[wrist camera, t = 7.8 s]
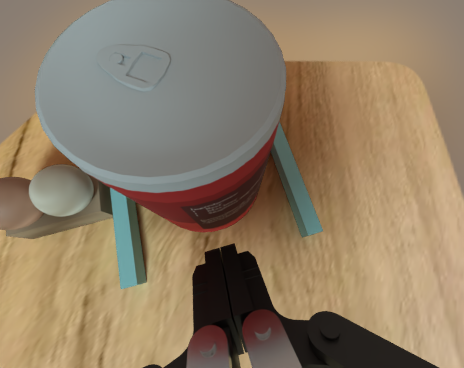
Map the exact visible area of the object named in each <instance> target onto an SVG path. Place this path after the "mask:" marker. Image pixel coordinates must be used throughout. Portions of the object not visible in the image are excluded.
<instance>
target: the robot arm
mask: <svg viewBox="0 0 464 368" xmlns="http://www.w3.org/2000/svg"><path fill="white" fill-rule="evenodd" d="M220 249H221V251H220ZM205 262H206V263H205V264H202V265H198V266H196V268H195V271H194V273H193V276H192V280H193V323H194V331H193V336H192V338H191V340H190V342H189V345H188V347H187V349H186V350H185V351H184V352H183V353H182V354H181V355H180V356H179V357H178V358H176V359H175V360H174V361H172V362H171V363H169V364H168V365H167V366H165V367H164V368H241V367H240V362H239V356H238V355H241V354H244V351H243V347H244V349H245V352H248V355H249V358H250V361H251V365H252V368H439V367H437V366H435V365H433V364H431V363H429V362H427V361H425V360H423V359H421V358H420V357H418V356H416V355H414V354H412V353H410V352H408V351H406V350H404V349H402V348H401V347H399V346H397V345H395V344H393V343H391V342H389V341H387V340H385V339H383V338H382V337H380V336H378V335H376V334H374V333H372V332H370V331H368V330H366V329H364V328H363V327H361V326H359V325H357V324H355V323H353V322H351V321H349V320H347V319H345V318H344V317H342V316H340V315H338V314H336V313H333V312H328V311H322V312H318V313H316V314H314V315H313V316H312V317H311V318H310V320H292V319H288V318H286V317H284V316H282V315H280V314H279V313H278V312H277V311H276V310H275V308H274V307H273V304H272V302H271V299H270V296H269V294H268V291H267V288H266V286H265V283H264V280H263V278H262V275H261V272H260V270H259V267H258V264H257V261H256V259H255V257H254V256H253V255H252V254H251V253H250V252H249V251H246V252H242V253H239V254H237V250H236V247H235V243H234V244H230V245H227V246H224V247H220V248H217V249H213V250H210V251H207V252H205ZM242 344H243V346H242ZM143 368H162V367H161V366H159V365H155V364H153V365H148V366H145V367H143Z"/></svg>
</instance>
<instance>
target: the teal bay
mask: <svg viewBox="0 0 464 368" xmlns="http://www.w3.org/2000/svg"><path fill="white" fill-rule="evenodd" d="M271 154H272V157H273V159H274V162H275V165H276V168H277V170H278V173H279V176H280V179H281V181H282V184H283V187H284V189H285V192H286V195H287V198H288V200H289V203H290V206H291V209H292V211H293V214H294V217H295V220H296V222H297V225H298V228H299V230H300V233H301V236H302V237H305V236H309V235H312V234H316V233H318V232H321V231H323V229H322V227H321V224H320V222H319V219H318V217H317V214H316V212H315V209H314V207H313V204H312V202H311V199H310V197H309V194H308V192H307V189H306V187H305V184H304V182H303V179H302V177H301V174H300V172H299V169H298V167H297V164H296V162H295V159H294V157H293V154H292V152H291V149H290V147H289V144H288V142H287V139H286V137H285V134H284V132H283V129H282V127H281V124H280V122H279V124H278V128H277V132H276V136H275V139H274V142H273V146H272V149H271ZM110 192H111V201H112V211H113V220H114V229H115V239H116V248H117V258H118V267H119V276H120V286H121V289H124V288H128V287H132V286H135V285H139V284H142V283H146V275H145V268H144V260H143V253H142V246H141V239H140V232H139V225H138V218H137V211H136V204H135V201H133V200H131V199H129V198H128V197H126V196H124V195H122V194H121V193H119V192H117V191H115V190H114V189H112V188H110Z"/></svg>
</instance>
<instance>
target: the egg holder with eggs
mask: <svg viewBox="0 0 464 368" xmlns="http://www.w3.org/2000/svg"><path fill="white" fill-rule="evenodd" d="M110 218H113V211H112V201H111V192H110V187H108V186H106V185H105V184H103V183H102V182H100V181H99V180H97V179H96V178H94V177H92V176H91V175H89V174H87V173H85V172H84V171H82V170H81V169H79V168H77V167H74V166H71V165H65V164H60V165H52V166H49V167H46V168H44V169H42V170H41V171H39V172H38V173H37V174H36V175H35V176H34V177H33V179H32V180H28V179H25V178H20V177H5V178H0V229H2V230H6V236H9V237H19V238H28V239H35V238H39V237H42V236H46V235H50V234H54V233H57V232H61V231H65V230H68V229H72V228H76V227H80V226H83V225H87V224H91V223H95V222H98V221H102V220H106V219H110Z"/></svg>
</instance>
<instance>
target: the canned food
mask: <svg viewBox="0 0 464 368" xmlns="http://www.w3.org/2000/svg"><path fill="white" fill-rule="evenodd" d="M285 90H286V66H285V63H284V59H283V55H282V51H281V49H280V47H279V45H278V43H277V42H276V40H275V38H274V36H273V34H272V33H271V32H270V31H269V30H268V29H267V27H266V26H265V25H264V24H263V23H262V21H260V20H259V19H258V18H257V17H256V16H254V15H253V14H252V13H250V12H249V11H248V10H247V9H245V8H243V7H241V6H240V5H237V4H236V3H234V2H232V1H230V0H111V1H108V2H106V3H104V4H102V5H100V6H98V7H96V8H94V9H92V10H90V11H88V12H87V13H86V14H84V15H83V16H81V17H80V18H79V19H77V20H76V21H74V22H73V23H72V24H71V25H70V26H69V27H68V28H67V29H66V30H65V31H64V32H63V33H62V34H61V35H60V36H58V38H57V39H56V40H55V42H54V43H53V45H52V46H51V47H50V49H49V50H48V52H47V53H46V55H45V57H44V60H43V62H42V64H41V67H40V69H39V71H38V77H37V82H36V87H35V100H36V111H37V114H38V117H39V119H40V122H41V125H42V128H43V130H44V131H45V133H46V134H47V136H48V137H49V139H50V140H51V142H52V143H53V145H54V146H55V147H56V148H57V149H58V150H59V151H60V152H61V153H63V154H64V155H65V156H66V157H67V158H68V159H69V160H70V161H72V162H73V163H75V164H76V165H77V166H78V167H79V168H80V169H81V170H83V171H84V172H85V173H87V174H89V175H91V176H92V177H94V178H96V179H97V180H99V181H100V182H102V183H103V184H105V185H106V186H108V187H110V188H112V189H114V190H115V191H117V192H119V193H121V194H122V195H124V196H126V197H128V198H129V199H131V200H133V201H135V202H136V203H138V204H140V205H142V206H144V207H145V208H147V209H149V210H151V211H152V212H154V213H156V214H158V215H159V216H161V217H163V218H165V219H167V220H168V221H170V222H172V223H174V224H176V225H177V226H179V227H181V228H184V229H187V230H190V231H196V232H212V231H218V230H221V229H224V228H227V227H229V226H231V225H233V224H235V223H236V222H238V221H239V220H240V219H241V218H243V217H244V216H245V215H246V213H247V212H248V211H249V210H250V209H251V207H252V205H253V203H254V201H255V199H256V197H257V194H258V190H259V187H260V184H261V181H262V178H263V174H264V171H265V168H266V165H267V162H268V158H269V155H270V152H271V149H272V146H273V142H274V139H275V136H276V132H277V128H278V124H279V120H280V116H281V113H282V109H283V105H284V101H285Z"/></svg>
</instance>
